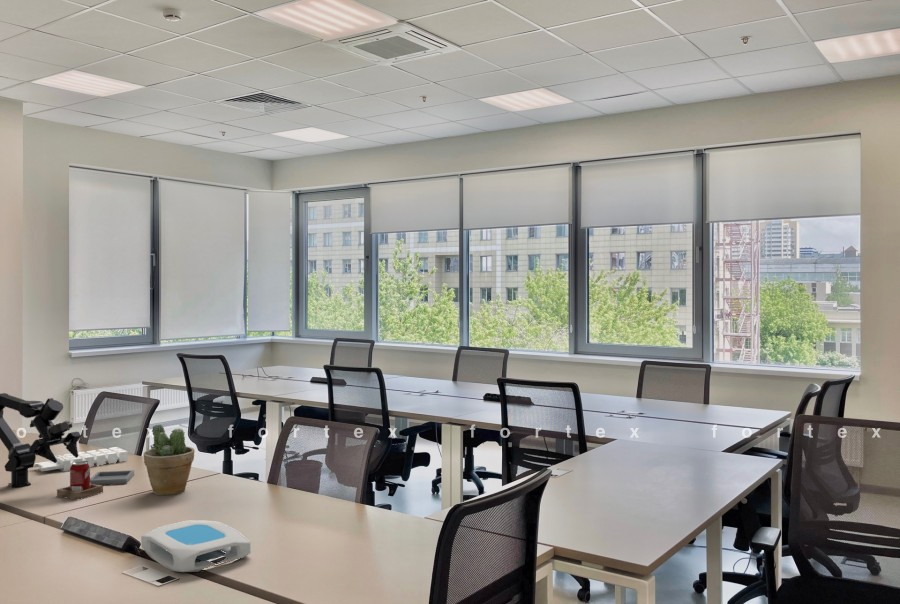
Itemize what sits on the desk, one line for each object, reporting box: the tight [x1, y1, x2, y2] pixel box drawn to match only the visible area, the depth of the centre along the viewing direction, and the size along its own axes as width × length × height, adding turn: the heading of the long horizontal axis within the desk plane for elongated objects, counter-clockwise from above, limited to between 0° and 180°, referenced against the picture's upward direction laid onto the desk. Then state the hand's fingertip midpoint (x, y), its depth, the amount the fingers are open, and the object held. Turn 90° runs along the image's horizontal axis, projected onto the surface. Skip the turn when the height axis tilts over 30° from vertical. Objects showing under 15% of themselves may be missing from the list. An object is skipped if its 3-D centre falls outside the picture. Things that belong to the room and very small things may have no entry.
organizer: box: [32, 446, 129, 472], centre depth 321 cm, size 13×5×35 cm
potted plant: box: [143, 424, 196, 496], centre depth 280 cm, size 18×19×25 cm
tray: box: [90, 469, 135, 486], centre depth 296 cm, size 14×14×2 cm
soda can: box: [69, 461, 91, 492], centre depth 275 cm, size 7×7×12 cm
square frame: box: [56, 484, 104, 500], centre depth 275 cm, size 11×11×2 cm
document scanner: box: [140, 519, 252, 573], centre depth 214 cm, size 21×28×6 cm
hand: (66, 459), depth 278 cm, fingers open, 9 cm apart
